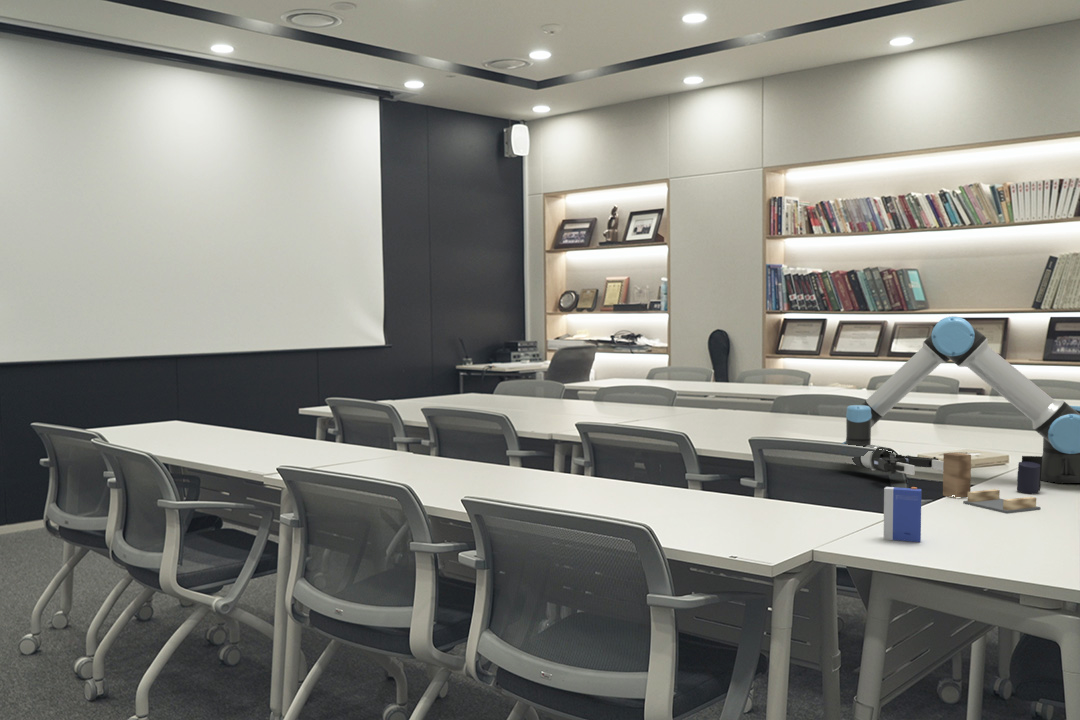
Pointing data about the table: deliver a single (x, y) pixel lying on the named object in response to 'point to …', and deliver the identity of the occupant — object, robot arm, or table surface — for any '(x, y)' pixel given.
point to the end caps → (1007, 503)
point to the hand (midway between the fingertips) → (932, 468)
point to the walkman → (902, 514)
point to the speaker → (1029, 474)
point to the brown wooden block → (956, 474)
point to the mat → (997, 506)
